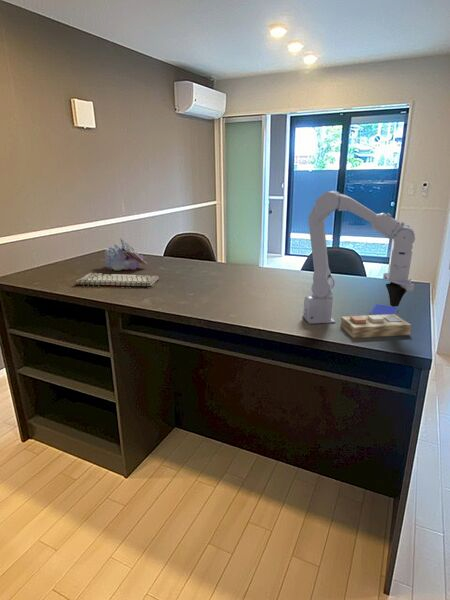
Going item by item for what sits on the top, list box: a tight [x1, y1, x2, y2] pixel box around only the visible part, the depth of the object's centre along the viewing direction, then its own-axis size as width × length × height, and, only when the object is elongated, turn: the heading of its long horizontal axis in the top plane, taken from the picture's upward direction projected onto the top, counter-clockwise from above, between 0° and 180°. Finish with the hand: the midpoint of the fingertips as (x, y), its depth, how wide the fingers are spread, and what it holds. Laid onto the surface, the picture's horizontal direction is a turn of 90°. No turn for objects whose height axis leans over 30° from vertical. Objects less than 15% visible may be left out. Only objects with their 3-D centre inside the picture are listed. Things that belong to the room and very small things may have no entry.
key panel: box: [340, 314, 412, 339], centre depth 127 cm, size 19×10×4 cm, turn 97°
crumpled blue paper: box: [104, 237, 148, 272], centre depth 211 cm, size 20×22×18 cm
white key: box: [367, 314, 384, 323], centre depth 127 cm, size 4×4×2 cm
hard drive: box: [368, 304, 399, 315], centre depth 144 cm, size 2×8×12 cm
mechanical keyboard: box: [73, 272, 160, 289], centre depth 185 cm, size 38×19×3 cm, turn 86°
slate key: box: [384, 317, 401, 322], centre depth 128 cm, size 4×4×2 cm
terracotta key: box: [350, 315, 366, 324], centre depth 126 cm, size 4×4×2 cm
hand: (394, 305), depth 126 cm, fingers closed
